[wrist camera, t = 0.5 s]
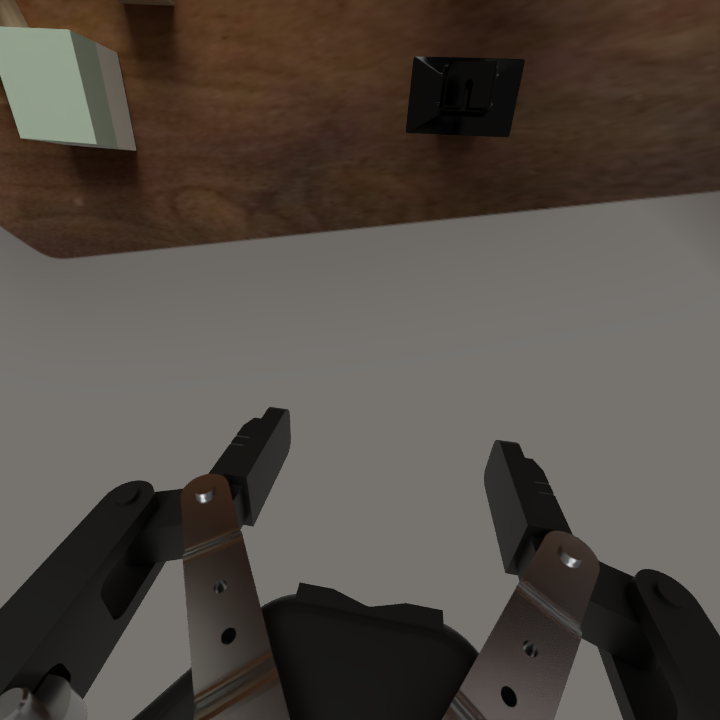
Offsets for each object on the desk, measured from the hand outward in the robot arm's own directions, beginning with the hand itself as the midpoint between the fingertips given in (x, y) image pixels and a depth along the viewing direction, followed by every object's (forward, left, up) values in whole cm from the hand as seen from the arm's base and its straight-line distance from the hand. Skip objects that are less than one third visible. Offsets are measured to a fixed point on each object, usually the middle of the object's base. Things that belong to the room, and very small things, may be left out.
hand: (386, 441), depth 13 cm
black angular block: (-17, +3, -28) cm, 33 cm away
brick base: (-15, -34, -28) cm, 46 cm away
